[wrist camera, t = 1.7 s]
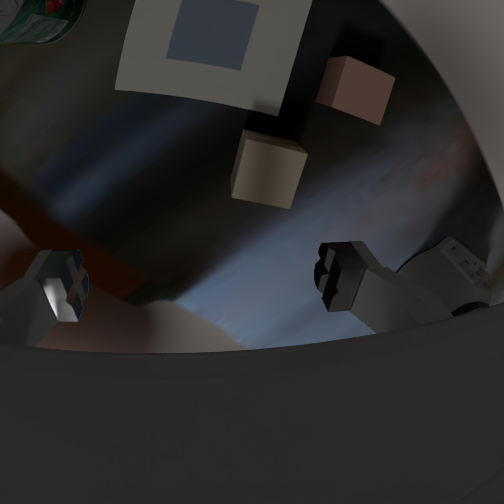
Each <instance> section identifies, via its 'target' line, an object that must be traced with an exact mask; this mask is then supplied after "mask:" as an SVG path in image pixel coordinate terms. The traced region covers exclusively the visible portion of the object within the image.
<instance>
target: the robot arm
mask: <svg viewBox="0 0 504 504" xmlns="http://www.w3.org/2000/svg"><path fill="white" fill-rule="evenodd" d="M318 254H319V256H320V258H321V259H320V260H319V261H318V262H317V263H316V264H315V269H314V281H315V285H316V287H317V289H318V290H319V291H320V292H322V293H323V296H322V300H323V302H324V304H325V307H326V309H327V311H328V312H337V311H349V310H351V311H350V312H351V313H353V314H354V315H355V316H356V317H358V318H359V319H360V320H361V321H362V322H364V323H365V324H366V325H367V326H368V327H370V328H371V329H372V330H373V331H374V332H376V333H377V334H371V335H366V336H360V337H354V338H347V339H341V340H334V341H327V342H320V343H312V344H304V345H295V346H286V347H276V348H266V349H254V350H240V351H224V352H204V353H160V354H159V353H146V354H145V353H106V352H105V353H104V352H85V351H71V350H58V349H49V348H39V347H36V345H37V344H38V343H39V342H40V341H41V340H42V339H43V338H44V336H45V335H46V334H47V333H48V332H49V331H50V330H51V329H52V328H53V327H54V325H55V324H56V323H57V321H78V320H79V317H80V314H81V311H82V308H83V306H82V303H81V302H82V301H83V300H84V299H85V298H86V297H87V294H88V288H89V281H88V275H87V272H86V270H85V269H84V268H83V267H82V266H81V264H82V261H83V259H82V256H81V252H80V251H79V250H77V249H74V250H42V251H40V252H39V253H38V255H37V257H36V258H35V259H34V261H33V263H32V264H31V266H30V267H29V269H28V271H27V272H26V274H25V276H24V277H23V279H18V280H17V281H15V282H14V283H13V284H11V285H10V286H8V287H7V288H6V289H4V290H3V291H2V292H0V504H504V302H503V303H500V304H496V305H493V306H489V305H490V301H491V297H492V289H491V288H490V286H489V285H488V284H487V283H486V280H487V279H488V278H489V274H488V273H487V265H486V264H485V262H484V261H482V260H481V259H480V258H479V257H478V256H476V255H475V254H474V253H473V252H471V251H470V250H469V249H467V248H466V247H465V246H464V245H462V244H461V243H460V242H458V241H457V240H456V239H454V238H453V237H451V236H449V237H446V238H445V239H444V240H442V241H441V242H440V243H439V244H438V245H437V246H435V247H434V248H432V249H430V250H427V251H425V252H423V253H421V254H419V255H417V256H416V257H414V258H413V259H411V260H410V261H409V262H408V263H406V264H405V265H404V266H403V267H402V268H401V269H400V270H399V272H398V273H396V272H394V271H392V270H391V269H389V268H387V267H382V266H381V264H380V263H379V262H378V261H377V259H376V258H375V257H374V255H373V254H372V253H371V251H370V250H369V249H368V247H367V246H366V245H365V244H364V242H362V241H349V242H330V243H321V245H320V247H319V251H318Z"/></svg>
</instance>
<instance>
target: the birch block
mask: <svg viewBox="0 0 504 504" xmlns="http://www.w3.org/2000/svg"><path fill="white" fill-rule="evenodd" d="M307 155H308V154H307V153H306V152H305V151H304V150H303V149H302V148H301V147H300V146H299V145H298V144H297V143H296V142H293V141H290V140H286V139H282V138H278V137H274V136H270V135H266V134H261V133H257V132H253V131H248V130H244V129H243V132H242V136H241V140H240V144H239V148H238V152H237V156H236V160H235V164H234V168H233V172H232V176H231V194H232V198H237V199H242V200H247V201H253V202H258V203H263V204H267V205H272V206H277V207H282V208H287V209H290V206H291V203H292V200H293V197H294V194H295V191H296V188H297V185H298V182H299V179H300V176H301V173H302V170H303V167H304V164H305V161H306V158H307Z"/></svg>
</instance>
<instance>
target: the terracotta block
mask: <svg viewBox="0 0 504 504" xmlns="http://www.w3.org/2000/svg"><path fill="white" fill-rule="evenodd" d="M394 80H395V78H394V77H392V76H390V75H388V74H386V73H384V72H382V71H380V70H378V69H376V68H374V67H372V66H369V65H367V64H365V63H363V62H361V61H358V60H356V59H354V58H351V57H349V56H342V57H333V58H329V59H328V63H327V66H326V69H325V72H324V76H323V79H322V82H321V86H320V89H319V92H318V95H317V99H316V102H318V103H321V104H324V105H327V106H330V107H333V108H336V109H338V110H341V111H344V112H347V113H349V114H352V115H355V116H357V117H360V118H362V119H365V120H367V121H370V122H372V123H375V124H377V125H380V123H381V120H382V117H383V114H384V111H385V108H386V105H387V102H388V99H389V96H390V93H391V89H392V86H393V83H394Z"/></svg>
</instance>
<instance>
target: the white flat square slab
mask: <svg viewBox="0 0 504 504" xmlns="http://www.w3.org/2000/svg"><path fill="white" fill-rule="evenodd" d="M311 3H312V0H136V1H135V5H134V8H133V11H132V15H131V18H130V22H129V26H128V29H127V33H126V37H125V41H124V46H123V50H122V54H121V59H120V64H119V69H118V74H117V79H116V85H115V90H127V91H139V92H149V93H157V94H166V95H173V96H180V97H187V98H193V99H199V100H205V101H211V102H216V103H221V104H227V105H231V106H236V107H241V108H245V109H250V110H254V111H258V112H263V113H267V114H271V115H275V116H278V114H279V111H280V107H281V104H282V100H283V97H284V93H285V90H286V87H287V83H288V80H289V76H290V73H291V70H292V66H293V63H294V59H295V56H296V53H297V49H298V46H299V43H300V39H301V36H302V32H303V29H304V26H305V22H306V19H307V16H308V13H309V9H310V6H311Z"/></svg>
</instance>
